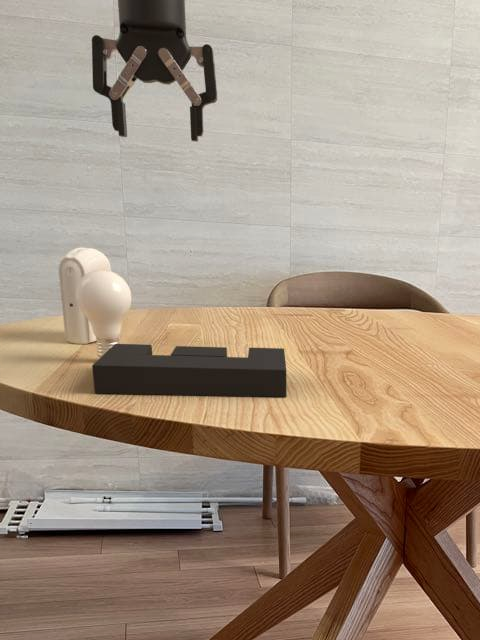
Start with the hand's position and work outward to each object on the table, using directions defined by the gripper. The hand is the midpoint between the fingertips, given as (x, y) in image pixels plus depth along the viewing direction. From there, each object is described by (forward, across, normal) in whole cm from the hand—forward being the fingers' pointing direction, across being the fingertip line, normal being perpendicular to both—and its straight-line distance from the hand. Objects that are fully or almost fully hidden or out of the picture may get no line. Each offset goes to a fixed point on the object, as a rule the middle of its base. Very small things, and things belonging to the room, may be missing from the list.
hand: (158, 138), depth 101 cm
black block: (+26, -5, +16) cm, 31 cm away
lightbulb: (+26, +7, +7) cm, 28 cm away
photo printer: (+26, +12, -10) cm, 31 cm away
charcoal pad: (+26, -5, +19) cm, 33 cm away
